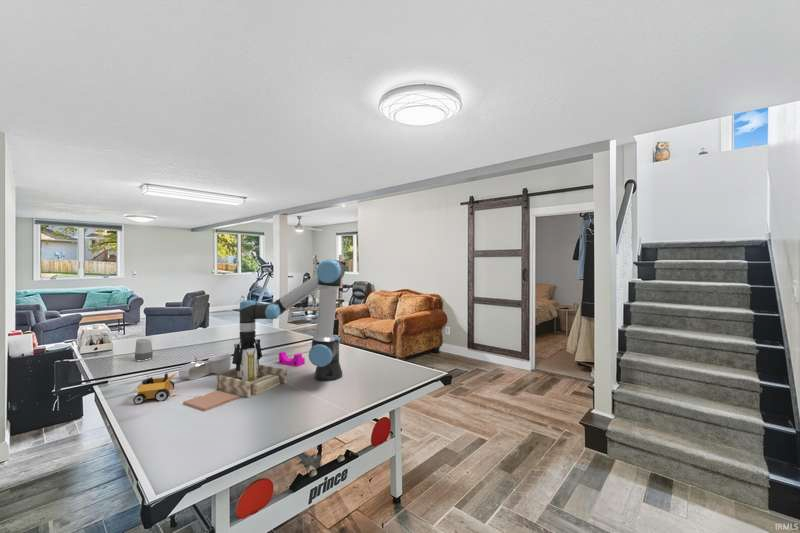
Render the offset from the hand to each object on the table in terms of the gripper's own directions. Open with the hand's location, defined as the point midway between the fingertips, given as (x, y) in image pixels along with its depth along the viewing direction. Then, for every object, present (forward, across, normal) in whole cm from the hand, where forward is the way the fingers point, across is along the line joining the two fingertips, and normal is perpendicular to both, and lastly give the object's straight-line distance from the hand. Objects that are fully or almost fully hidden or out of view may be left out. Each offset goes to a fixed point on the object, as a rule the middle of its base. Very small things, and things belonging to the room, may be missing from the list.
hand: (247, 374), depth 177 cm
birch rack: (+5, 0, +4) cm, 7 cm away
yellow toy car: (+6, +31, -24) cm, 40 cm away
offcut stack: (+6, 0, +12) cm, 13 cm away
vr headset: (+5, +7, -33) cm, 34 cm away
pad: (+5, +22, +4) cm, 23 cm away
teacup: (+5, -5, -27) cm, 28 cm away
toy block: (+6, -38, -8) cm, 39 cm away
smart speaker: (+6, +1, -101) cm, 101 cm away
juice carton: (+6, 0, 0) cm, 6 cm away
